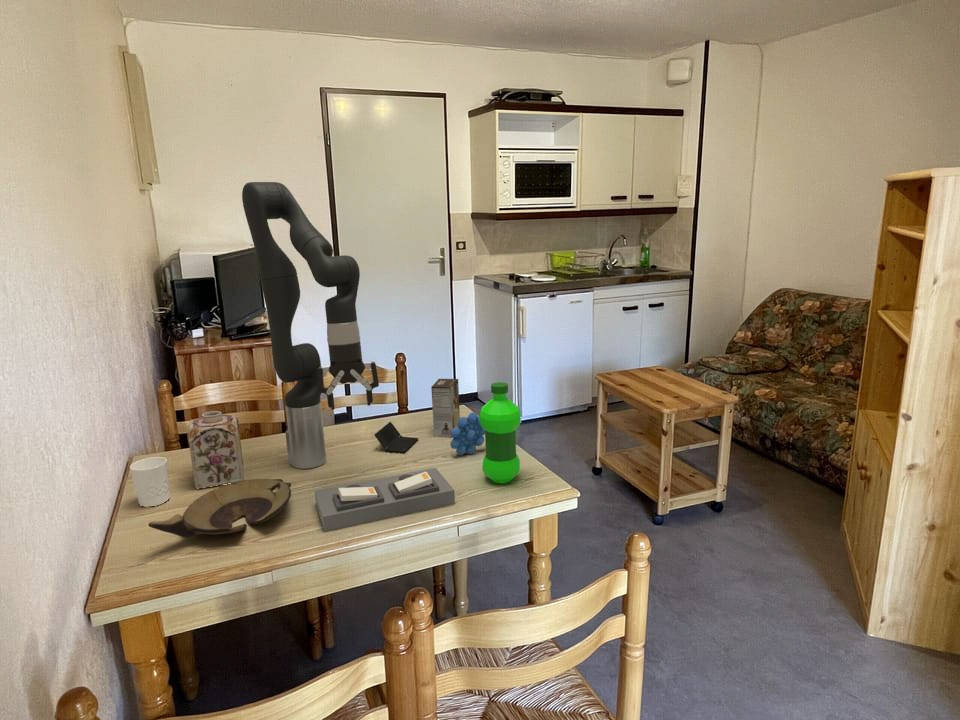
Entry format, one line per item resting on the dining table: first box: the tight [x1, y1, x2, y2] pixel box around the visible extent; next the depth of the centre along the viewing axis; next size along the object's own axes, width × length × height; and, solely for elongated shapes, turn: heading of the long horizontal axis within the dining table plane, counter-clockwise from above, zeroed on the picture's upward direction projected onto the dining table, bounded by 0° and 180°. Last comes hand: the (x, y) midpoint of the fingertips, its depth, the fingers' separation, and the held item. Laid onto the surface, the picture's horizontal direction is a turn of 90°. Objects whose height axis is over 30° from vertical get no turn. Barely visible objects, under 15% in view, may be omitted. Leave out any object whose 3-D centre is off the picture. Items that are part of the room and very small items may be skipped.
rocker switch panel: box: [314, 467, 456, 532], centre depth 142 cm, size 30×14×4 cm, turn 112°
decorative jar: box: [187, 410, 245, 489], centre depth 158 cm, size 12×12×18 cm
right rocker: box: [394, 472, 433, 493], centre depth 142 cm, size 8×4×1 cm, turn 112°
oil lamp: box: [148, 478, 292, 538], centre depth 135 cm, size 22×30×8 cm
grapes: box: [450, 412, 485, 456], centre depth 170 cm, size 12×7×12 cm, turn 117°
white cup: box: [129, 456, 171, 507], centre depth 147 cm, size 8×8×10 cm
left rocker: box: [338, 487, 378, 501], centre depth 137 cm, size 8×4×1 cm, turn 112°
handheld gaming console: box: [374, 421, 419, 455], centre depth 178 cm, size 12×7×10 cm
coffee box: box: [431, 378, 461, 438], centre depth 187 cm, size 9×6×16 cm
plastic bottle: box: [479, 381, 522, 484], centre depth 152 cm, size 10×10×25 cm
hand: (351, 407), depth 147 cm, fingers open, 8 cm apart
